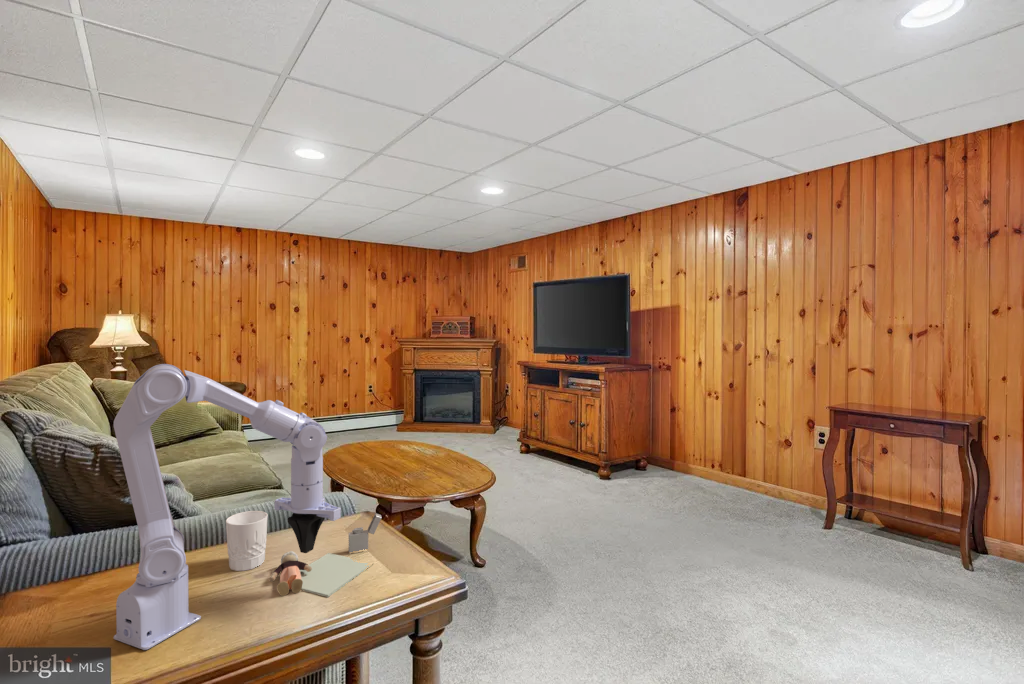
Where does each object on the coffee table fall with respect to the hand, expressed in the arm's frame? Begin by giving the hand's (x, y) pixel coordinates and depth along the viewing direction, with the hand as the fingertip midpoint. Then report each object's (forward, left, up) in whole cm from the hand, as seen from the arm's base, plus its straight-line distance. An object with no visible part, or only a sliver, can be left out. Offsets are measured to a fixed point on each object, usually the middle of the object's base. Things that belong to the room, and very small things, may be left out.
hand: (306, 550), depth 98 cm
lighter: (+18, 0, -8) cm, 20 cm away
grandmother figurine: (-3, +1, -6) cm, 7 cm away
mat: (+6, 0, -7) cm, 10 cm away
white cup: (+3, +19, -8) cm, 21 cm away
